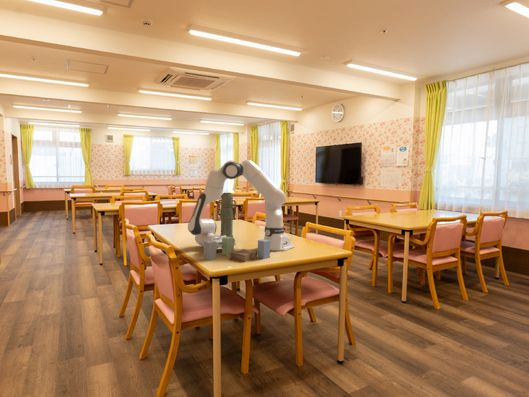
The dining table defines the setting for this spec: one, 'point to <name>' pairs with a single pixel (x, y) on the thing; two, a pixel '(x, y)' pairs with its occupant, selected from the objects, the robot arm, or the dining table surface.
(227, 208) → the thermos
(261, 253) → the blue block
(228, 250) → the green block
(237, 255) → the walnut brick
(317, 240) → the dining table surface
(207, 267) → the dining table surface
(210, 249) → the grey block
